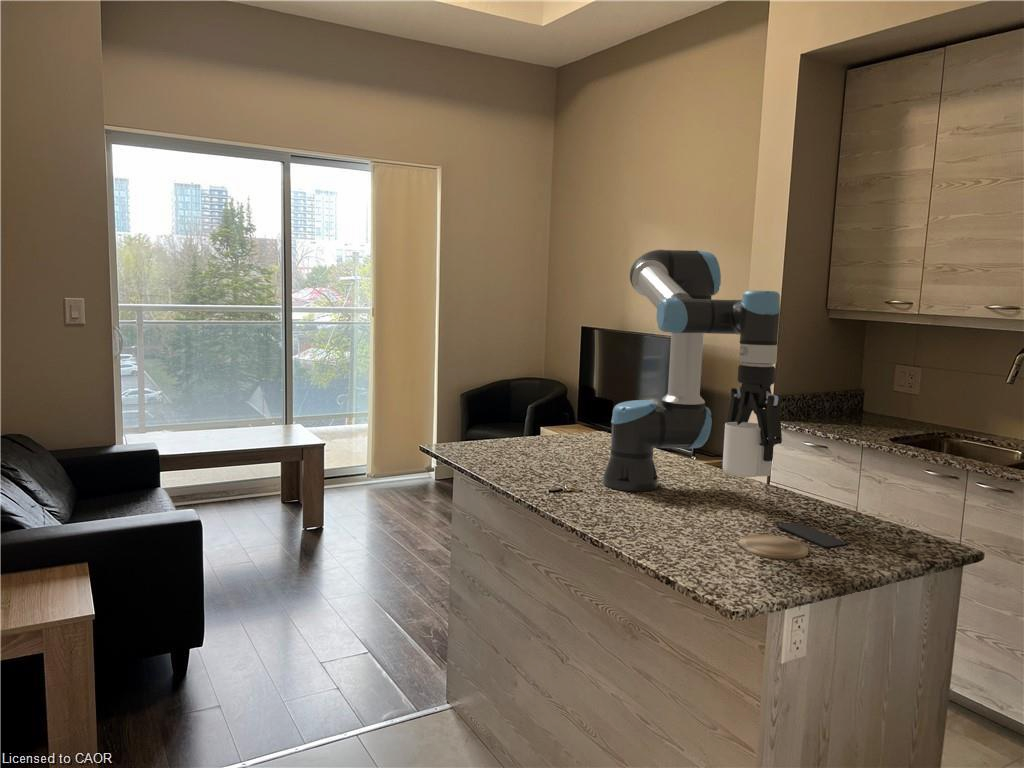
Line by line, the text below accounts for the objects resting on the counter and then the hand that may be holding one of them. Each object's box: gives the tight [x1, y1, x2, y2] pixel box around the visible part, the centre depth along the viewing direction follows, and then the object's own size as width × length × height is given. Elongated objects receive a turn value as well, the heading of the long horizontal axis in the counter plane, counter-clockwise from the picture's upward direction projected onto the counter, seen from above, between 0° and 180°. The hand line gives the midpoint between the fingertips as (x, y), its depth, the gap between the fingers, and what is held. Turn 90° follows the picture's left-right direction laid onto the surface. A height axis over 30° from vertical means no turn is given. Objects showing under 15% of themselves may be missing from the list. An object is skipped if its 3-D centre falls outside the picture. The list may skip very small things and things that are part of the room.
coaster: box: [738, 533, 809, 561], centre depth 157 cm, size 14×14×1 cm
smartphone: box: [776, 522, 849, 549], centre depth 166 cm, size 7×1×15 cm
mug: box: [722, 421, 768, 478], centre depth 157 cm, size 12×8×10 cm
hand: (750, 470), depth 157 cm, fingers closed on mug, 8 cm apart
